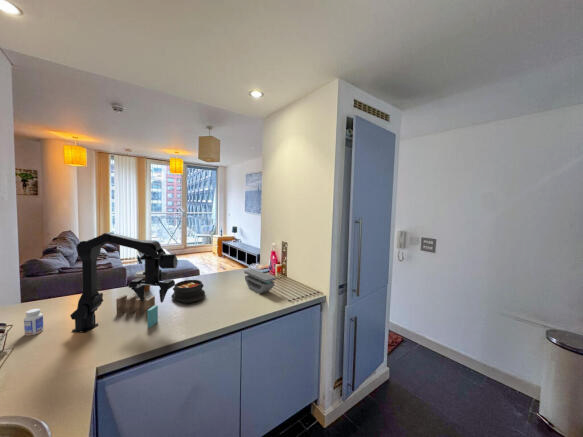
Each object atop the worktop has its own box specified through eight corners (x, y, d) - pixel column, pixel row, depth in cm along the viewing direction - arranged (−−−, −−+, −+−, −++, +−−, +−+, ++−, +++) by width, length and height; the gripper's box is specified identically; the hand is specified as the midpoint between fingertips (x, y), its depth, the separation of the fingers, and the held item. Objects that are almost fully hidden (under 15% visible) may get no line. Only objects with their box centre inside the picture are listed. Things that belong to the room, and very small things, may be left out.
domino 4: (148, 315, 115) (148, 300, 115) (145, 315, 115) (145, 300, 115) (154, 311, 120) (154, 296, 120) (152, 311, 120) (151, 296, 120)
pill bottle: (43, 327, 102) (42, 306, 102) (44, 332, 99) (43, 310, 98) (24, 332, 98) (23, 310, 98) (24, 337, 95) (23, 314, 94)
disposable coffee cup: (144, 293, 142) (143, 274, 141) (131, 292, 144) (130, 273, 143) (155, 288, 152) (155, 270, 151) (143, 287, 153) (143, 269, 153)
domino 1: (119, 314, 116) (119, 298, 115) (116, 314, 116) (116, 298, 116) (127, 309, 121) (127, 295, 120) (124, 309, 121) (124, 294, 121)
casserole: (211, 300, 135) (211, 286, 135) (176, 308, 124) (176, 293, 123) (198, 287, 155) (198, 275, 154) (167, 294, 143) (167, 280, 143)
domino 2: (129, 314, 116) (129, 299, 115) (126, 314, 116) (125, 299, 115) (136, 310, 121) (136, 295, 120) (133, 310, 121) (133, 295, 120)
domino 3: (138, 315, 116) (138, 299, 115) (135, 315, 116) (135, 299, 115) (145, 310, 120) (145, 295, 120) (142, 310, 121) (142, 295, 120)
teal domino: (150, 327, 105) (150, 310, 104) (147, 327, 105) (147, 310, 105) (157, 321, 110) (157, 305, 109) (154, 321, 110) (154, 305, 110)
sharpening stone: (244, 286, 160) (244, 270, 159) (253, 283, 165) (253, 268, 165) (265, 297, 142) (265, 280, 141) (275, 294, 147) (275, 277, 146)
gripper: (181, 265, 113) (181, 295, 114) (144, 263, 114) (144, 294, 115) (167, 271, 102) (168, 305, 103) (127, 269, 103) (127, 303, 104)
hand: (152, 301), depth 107 cm, fingers open, 9 cm apart
